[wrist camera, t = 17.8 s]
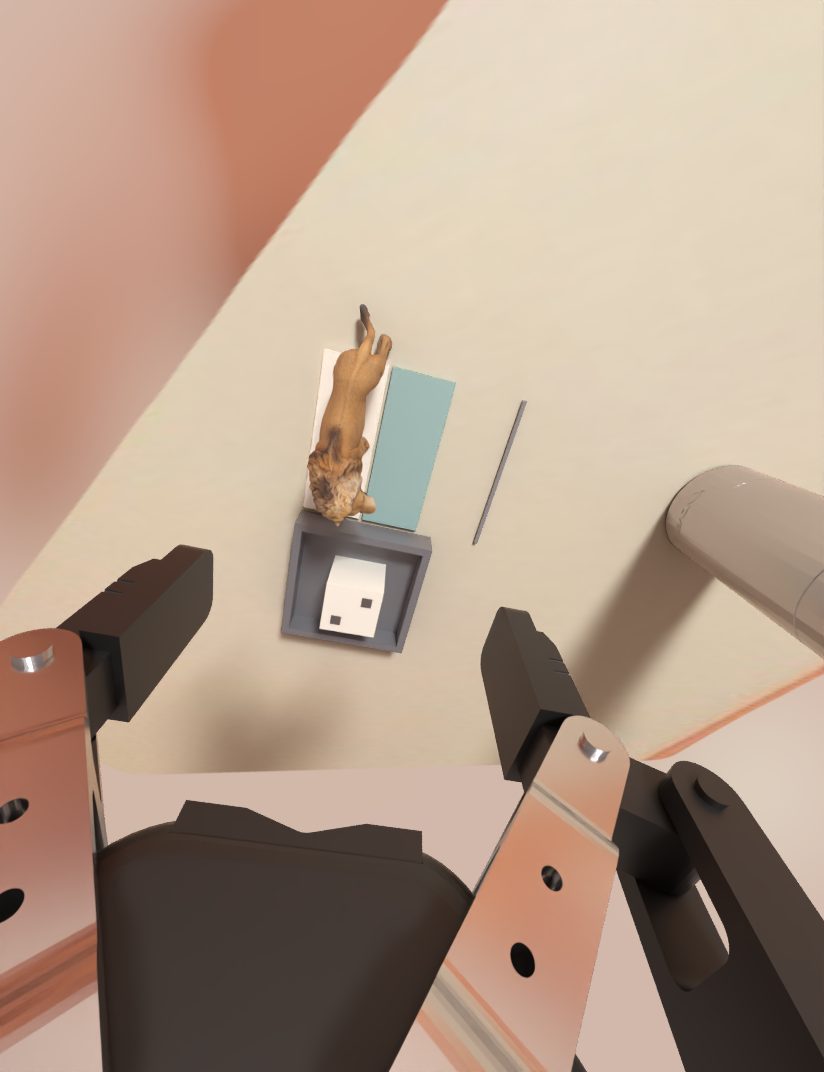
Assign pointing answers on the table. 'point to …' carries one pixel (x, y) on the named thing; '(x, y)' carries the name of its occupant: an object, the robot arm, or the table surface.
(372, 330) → the lion figurine
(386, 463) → the track
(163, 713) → the table surface
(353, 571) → the die
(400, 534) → the dice tray
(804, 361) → the table surface
